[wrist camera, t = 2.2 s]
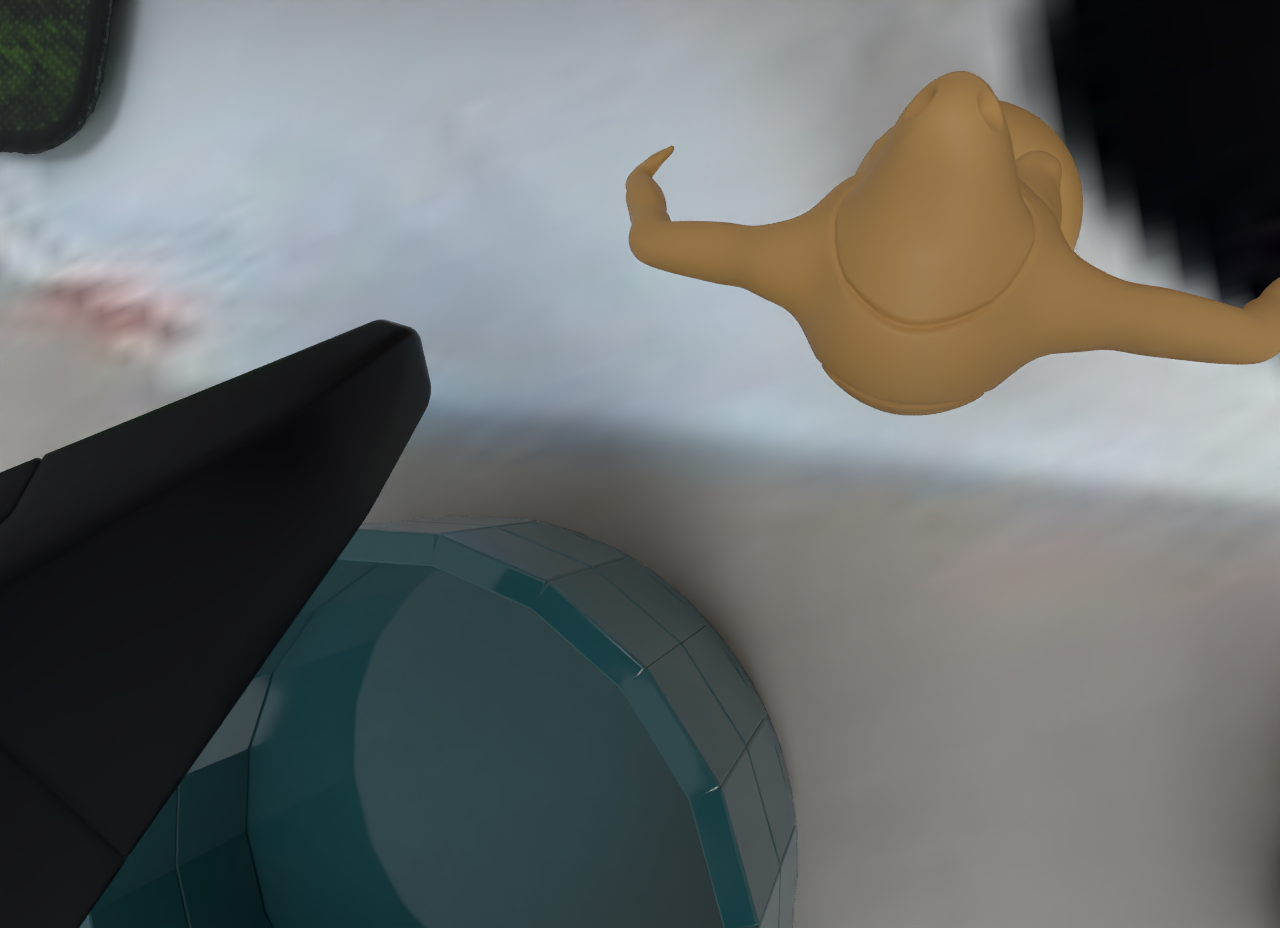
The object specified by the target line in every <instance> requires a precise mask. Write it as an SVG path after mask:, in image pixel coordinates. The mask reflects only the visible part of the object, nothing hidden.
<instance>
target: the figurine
mask: <svg viewBox="0 0 1280 928" xmlns="http://www.w3.org/2000/svg"><path fill="white" fill-rule="evenodd" d="M673 150H674V146H670V147H668V148H666V149H663V150H661V151H659V152H657V153H655V154H654V155H652V156H650V157H649V158H648V159H646V160H645V161H644V162H643V163H641V164H640V165H639V166H637V167H636V168H635V169H634V170H633V171H632V173H631V174H630V175H629V177H628V178H627V181H626V190H627V192H626V203H627V207H628V211H629V215H630V220H631V223H632V225H631V229H630V233H629V245H630V248H631V251H632V253H633V254H634V256H635V257H636V258H637V259H638V260H640V261H641V262H643V263H645V264H647V265H649V266H651V267H654V268H657V269H660V270H664V271H667V272H671V273H675V274H679V275H683V276H687V277H691V278H696V279H700V280H704V281H709V282H713V283H718V284H723V285H730V286H736V287H741V288H744V289H747V290H749V291H751V292H753V293H755V294H756V295H758V296H760V297H762V298H764V299H766V300H769V301H771V302H773V303H775V304H777V305H779V306H781V307H783V308H784V309H786V310H787V311H788V312H790V313H791V314H792V315H793V316H794V317H795V319H796V320H797V321H798V323H799V324H800V326H801V328H802V330H803V332H804V334H805V336H806V338H807V340H808V342H809V344H810V346H811V349H812V351H813V353H814V355H815V356H816V358H817V359H818V360H819V361H820V362H821V363H822V367H823V369H824V370H825V372H826V373H827V374H828V376H829V377H830V378H831V379H832V380H833V381H834V382H835V383H836V384H837V385H838V386H839V387H840V388H842V389H843V390H844V391H845V392H847V393H848V394H849V395H851V396H852V397H854V398H855V399H857V400H859V401H860V402H862V403H864V404H866V405H868V406H871V407H873V408H875V409H878V410H881V411H884V412H888V413H892V414H898V415H929V414H936V413H941V412H945V411H949V410H952V409H955V408H958V407H961V406H963V405H966V404H968V403H970V402H972V401H974V400H976V399H978V398H980V397H981V396H982V395H983V394H984V392H987V391H989V390H992V389H993V388H995V387H996V386H998V385H999V384H1000V383H1001V382H1003V381H1004V380H1005V379H1007V378H1008V377H1009V376H1010V375H1012V374H1013V373H1014V372H1015V371H1017V370H1018V369H1019V368H1021V367H1022V366H1024V365H1025V364H1027V363H1028V362H1030V361H1032V360H1034V359H1036V358H1039V357H1042V356H1045V355H1049V354H1055V353H1068V352H1082V351H1092V350H1115V351H1121V352H1127V353H1132V354H1138V355H1145V356H1153V357H1161V358H1169V359H1178V360H1187V361H1196V362H1205V363H1218V364H1255V363H1260V362H1264V361H1266V360H1269V359H1271V358H1272V357H1274V356H1276V355H1277V354H1278V353H1279V352H1280V278H1278V279H1277V280H1275V281H1274V282H1273V283H1271V284H1270V285H1269V286H1268V287H1267V288H1266V289H1265V290H1264V291H1263V293H1262V294H1261V296H1260V297H1259V298H1257V299H1254V300H1252V301H1250V302H1249V303H1247V304H1246V305H1245V306H1244V307H1243V308H1242V309H1241V308H1237V307H1234V306H1231V305H1228V304H1224V303H1221V302H1218V301H1215V300H1211V299H1208V298H1204V297H1200V296H1196V295H1192V294H1188V293H1185V292H1181V291H1176V290H1172V289H1168V288H1162V287H1156V286H1149V285H1143V284H1137V283H1132V282H1128V281H1124V280H1121V279H1119V278H1116V277H1114V276H1112V275H1109V274H1107V273H1105V272H1103V271H1101V270H1099V269H1097V268H1096V267H1094V266H1092V265H1090V264H1089V263H1087V262H1086V261H1084V260H1083V259H1082V258H1080V257H1079V256H1078V255H1077V254H1076V253H1075V252H1074V251H1073V250H1074V248H1075V245H1076V242H1077V239H1078V236H1079V232H1080V228H1081V222H1082V213H1083V196H1082V187H1081V182H1080V178H1079V174H1078V171H1077V168H1076V165H1075V163H1074V160H1073V158H1072V156H1071V154H1070V152H1069V151H1068V149H1067V147H1066V146H1065V144H1064V143H1063V141H1062V140H1061V139H1060V137H1059V136H1058V135H1057V134H1056V133H1055V132H1054V131H1053V130H1052V129H1051V128H1050V127H1049V126H1048V125H1047V124H1046V123H1045V122H1043V121H1042V120H1041V119H1040V118H1038V117H1037V116H1035V115H1034V114H1032V113H1030V112H1029V111H1027V110H1025V109H1023V108H1020V107H1018V106H1016V105H1013V104H1010V103H1007V102H1004V101H999V100H998V99H997V97H996V95H995V94H994V92H993V91H992V89H991V88H990V86H989V85H988V84H987V83H986V82H985V81H984V80H983V79H981V78H980V77H978V76H976V75H975V74H972V73H969V72H966V71H957V72H951V73H948V74H945V75H943V76H941V77H939V78H937V79H935V80H934V81H932V82H931V83H930V84H928V85H927V86H926V87H925V88H923V89H922V90H921V91H920V92H919V93H918V94H917V95H916V96H915V97H914V98H913V100H912V101H911V102H910V103H909V104H908V106H907V107H906V108H905V110H904V111H903V113H902V114H901V116H900V117H899V119H898V120H897V122H896V124H895V125H894V126H893V127H891V128H890V129H889V130H888V131H887V132H886V133H885V134H883V135H882V136H881V137H880V138H879V139H878V140H877V141H876V142H875V143H874V144H873V146H872V148H871V149H870V150H869V152H868V153H867V154H866V156H865V157H864V159H863V160H862V162H861V164H860V166H859V167H858V169H857V171H856V173H855V175H854V176H852V177H850V178H848V179H846V180H845V181H843V182H842V183H840V184H839V185H838V186H836V187H835V188H834V189H833V190H832V191H831V192H830V193H829V194H827V195H826V196H825V197H824V198H823V199H822V200H821V201H820V202H819V203H818V204H817V205H816V206H814V207H813V208H812V209H811V210H809V211H808V212H806V213H804V214H802V215H800V216H798V217H795V218H792V219H789V220H786V221H782V222H778V223H773V224H768V225H760V226H748V225H740V224H733V223H726V222H706V221H678V222H671V219H670V217H669V215H668V213H667V212H666V210H667V208H666V201H665V197H664V194H663V192H662V190H661V188H660V187H659V186H658V184H657V183H656V182H655V181H654V180H653V179H652V177H653V175H654V174H655V172H656V171H657V170H658V168H659V167H660V166H661V165H662V163H663V162H664V161H665V160H666V159H667V158H668V157H669V156H670V155H671V154H672V152H673Z"/></svg>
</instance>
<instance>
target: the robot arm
mask: <svg viewBox="0 0 1280 928" xmlns="http://www.w3.org/2000/svg"><path fill="white" fill-rule="evenodd" d="M430 395H431V383H430V378H429V374H428V369H427V365H426V360H425V356H424V351H423V347H422V343H421V339H420V336H419V335H418V333H417V332H416V331H415V330H414V329H412V328H411V327H408V326H404V325H401V324H398V323H395V322H392V321H388V320H376V321H373V322H370V323H367V324H365V325H363V326H360V327H358V328H355V329H353V330H350V331H348V332H345V333H343V334H340V335H338V336H335V337H333V338H331V339H328V340H326V341H323V342H321V343H318V344H316V345H313V346H311V347H308V348H306V349H304V350H301V351H299V352H296V353H294V354H291V355H289V356H286V357H284V358H281V359H279V360H277V361H274V362H272V363H269V364H267V365H264V366H262V367H259V368H257V369H254V370H252V371H249V372H247V373H245V374H242V375H240V376H237V377H235V378H232V379H230V380H227V381H225V382H222V383H220V384H218V385H215V386H213V387H210V388H208V389H205V390H203V391H200V392H198V393H195V394H193V395H190V396H188V397H186V398H183V399H181V400H178V401H176V402H173V403H171V404H168V405H166V406H163V407H161V408H158V409H156V410H154V411H151V412H149V413H146V414H144V415H141V416H139V417H136V418H134V419H131V420H129V421H126V422H124V423H122V424H119V425H117V426H114V427H112V428H109V429H107V430H104V431H102V432H99V433H97V434H94V435H92V436H90V437H87V438H85V439H82V440H80V441H77V442H75V443H72V444H70V445H67V446H65V447H62V448H60V449H57V450H55V451H53V452H50V453H48V454H46V455H45V456H44V457H43V459H40V458H35V459H32V460H30V461H28V462H25V463H23V464H20V465H18V466H15V467H13V468H11V469H8V470H6V471H3V472H1V473H0V928H79V927H80V926H81V925H82V923H83V922H84V920H85V919H86V918H87V916H88V915H89V913H90V912H91V910H92V909H93V908H94V906H95V905H96V903H97V902H98V900H99V899H100V898H101V896H102V895H103V893H104V892H105V890H106V889H107V888H108V886H109V885H110V883H111V882H112V881H113V879H114V878H115V876H116V875H117V873H118V872H119V871H120V869H121V868H122V866H123V865H124V863H125V862H126V858H125V857H128V856H129V855H130V854H131V853H132V851H133V850H134V848H135V847H136V845H137V844H138V843H139V841H140V840H141V838H142V837H143V835H144V834H145V833H146V831H147V830H148V828H149V827H150V825H151V824H152V823H153V821H154V820H155V818H156V817H157V816H158V814H159V813H160V811H161V810H162V808H163V807H164V806H165V804H166V803H167V801H168V800H169V798H170V797H171V796H172V794H173V793H174V791H175V790H176V788H177V787H178V786H179V784H180V783H181V781H182V780H183V778H184V777H185V776H186V774H187V773H188V771H189V770H190V768H191V767H192V766H193V764H194V763H195V761H196V760H197V759H198V757H199V756H200V754H201V753H202V751H203V750H204V749H205V747H206V746H207V744H208V743H209V741H210V740H211V739H212V737H213V736H214V734H215V733H216V731H217V730H218V729H219V727H220V726H221V724H222V723H223V721H224V720H225V719H226V717H227V716H228V714H229V713H230V711H231V710H232V709H233V707H234V706H235V704H236V703H237V702H238V700H239V699H240V697H241V696H242V694H243V693H244V692H245V690H246V689H247V687H248V686H249V684H250V683H251V682H252V680H253V679H254V677H255V676H256V674H257V673H258V672H259V670H260V669H261V667H262V666H263V664H264V663H265V662H266V660H267V659H268V657H269V656H270V654H271V653H272V652H273V650H274V649H275V647H276V646H277V645H278V643H279V642H280V640H281V639H282V637H283V636H284V635H285V633H286V632H287V630H288V629H289V627H290V626H291V625H292V623H293V622H294V620H295V619H296V617H297V616H298V615H299V613H300V612H301V610H302V609H303V607H304V606H305V605H306V603H307V602H308V600H309V599H310V597H311V596H312V595H313V593H314V592H315V590H316V589H317V588H318V586H319V585H320V583H321V582H322V580H323V579H324V578H325V576H326V575H327V573H328V572H329V570H330V569H331V568H332V566H333V565H334V563H335V562H336V560H337V559H338V558H339V556H340V555H341V553H342V552H343V550H344V549H345V548H346V546H347V545H348V543H349V542H350V540H351V539H352V538H353V536H354V535H355V533H356V532H357V530H358V529H359V527H360V526H361V524H362V523H363V521H364V520H365V518H366V516H367V515H368V513H369V511H370V510H371V508H372V506H373V505H374V503H375V501H376V499H377V498H378V496H379V494H380V492H381V490H382V489H383V487H384V485H385V483H386V481H387V479H388V478H389V476H390V474H391V472H392V470H393V468H394V467H395V465H396V463H397V461H398V459H399V458H400V456H401V454H402V452H403V450H404V448H405V447H406V445H407V443H408V441H409V439H410V437H411V436H412V434H413V432H414V430H415V428H416V427H417V425H418V423H419V421H420V419H421V417H422V416H423V414H424V412H425V410H426V408H427V406H428V403H429V400H430Z"/></svg>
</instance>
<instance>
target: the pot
mask: <svg viewBox="0 0 1280 928" xmlns="http://www.w3.org/2000/svg"><path fill="white" fill-rule="evenodd" d="M125 858H126V862H125V863H124V865H123V866H122V868H121V869H120V871H119V872H118V873H117V875H116V876H115V878H114V879H113V881H112V882H111V883H110V885H109V886H108V888H107V889H106V890H105V892H104V893H103V895H102V896H101V898H100V899H99V900H98V902H97V903H96V905H95V906H94V908H93V909H92V910H91V912H90V913H89V915H88V916H87V918H86V919H85V920H84V922H83V923H82V925H81V926H80V927H79V928H793V915H794V900H795V893H796V885H797V877H798V864H797V826H796V819H795V812H794V805H793V797H792V790H791V785H790V782H789V778H788V774H787V770H786V767H785V763H784V759H783V756H782V752H781V748H780V745H779V742H778V740H777V737H776V735H775V732H774V730H773V727H772V725H771V722H770V720H769V718H768V715H767V713H766V710H765V708H764V705H763V703H762V701H761V699H760V698H759V696H758V694H757V692H756V690H755V689H754V687H753V685H752V683H751V681H750V680H749V678H748V676H747V674H746V673H745V671H744V669H743V667H742V665H741V664H740V663H739V661H738V660H737V658H736V657H735V656H734V654H733V653H732V652H731V650H730V649H729V647H728V646H727V645H726V643H725V642H724V641H723V639H722V638H721V637H720V635H719V634H718V632H717V631H716V630H715V629H714V628H713V627H712V625H711V624H710V623H709V622H708V621H707V620H706V619H705V618H704V617H703V616H702V615H701V614H700V613H699V612H698V611H697V610H696V608H695V607H694V606H693V605H692V604H691V603H690V602H689V601H688V600H687V599H686V598H685V597H684V596H682V595H681V594H680V593H679V592H678V591H676V590H675V589H674V588H673V587H672V586H670V585H669V584H668V583H667V582H665V581H664V580H663V579H662V578H661V577H659V576H658V575H657V574H656V573H655V572H653V571H652V570H650V569H648V568H647V567H645V566H644V565H642V564H640V563H639V562H637V561H636V560H634V559H632V558H631V557H629V556H628V555H626V554H624V553H623V552H621V551H620V550H618V549H615V548H613V547H611V546H609V545H607V544H605V543H602V542H600V541H598V540H596V539H594V538H591V537H589V536H587V535H585V534H582V533H579V532H576V531H572V530H569V529H566V528H562V527H559V526H556V525H552V524H549V523H545V522H541V521H539V522H538V521H536V520H525V519H519V518H512V517H469V516H442V517H432V518H421V519H411V520H401V521H390V522H380V523H369V524H361V526H360V527H359V529H358V530H357V532H356V533H355V535H354V536H353V538H352V539H351V540H350V542H349V543H348V545H347V546H346V548H345V549H344V550H343V552H342V553H341V555H340V556H339V558H338V559H337V560H336V562H335V563H334V565H333V566H332V568H331V569H330V570H329V572H328V573H327V575H326V576H325V578H324V579H323V580H322V582H321V583H320V585H319V586H318V588H317V589H316V590H315V592H314V593H313V595H312V596H311V597H310V599H309V600H308V602H307V603H306V605H305V606H304V607H303V609H302V610H301V612H300V613H299V615H298V616H297V617H296V619H295V620H294V622H293V623H292V625H291V626H290V627H289V629H288V630H287V632H286V633H285V635H284V636H283V637H282V639H281V640H280V642H279V643H278V645H277V646H276V647H275V649H274V650H273V652H272V653H271V654H270V656H269V657H268V659H267V660H266V662H265V663H264V664H263V666H262V667H261V669H260V670H259V672H258V673H257V674H256V676H255V677H254V679H253V680H252V682H251V683H250V684H249V686H248V687H247V689H246V690H245V692H244V693H243V694H242V696H241V697H240V699H239V700H238V702H237V703H236V704H235V706H234V707H233V709H232V710H231V711H230V713H229V714H228V716H227V717H226V719H225V720H224V721H223V723H222V724H221V726H220V727H219V729H218V730H217V731H216V733H215V734H214V736H213V737H212V739H211V740H210V741H209V743H208V744H207V746H206V747H205V749H204V750H203V751H202V753H201V754H200V756H199V757H198V759H197V760H196V761H195V763H194V764H193V766H192V767H191V768H190V770H189V771H188V773H187V774H186V776H185V777H184V778H183V780H182V781H181V783H180V784H179V786H178V787H177V788H176V790H175V791H174V793H173V794H172V796H171V797H170V798H169V800H168V801H167V803H166V804H165V806H164V807H163V808H162V810H161V811H160V813H159V814H158V816H157V817H156V818H155V820H154V821H153V823H152V824H151V825H150V827H149V828H148V830H147V831H146V833H145V834H144V835H143V837H142V838H141V840H140V841H139V843H138V844H137V845H136V847H135V848H134V850H133V851H132V853H131V854H130V855H129V856H128V857H125Z"/></svg>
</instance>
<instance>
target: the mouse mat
mask: <svg viewBox="0 0 1280 928" xmlns="http://www.w3.org/2000/svg"><path fill="white" fill-rule="evenodd" d="M113 1H114V0H0V152H9V153H12V152H17V153H23V154H36V153H41V152H44V151H47V150H50V149H53V148H55V147H57V146H59V145H61V144H62V143H64V142H65V141H67V140H69V139H70V138H71V137H72V136H74V135H75V134H76V133H77V132H78V131H79V130H81V129H82V127H83V126H84V124H85V123H86V121H87V119H88V117H89V116H90V115H91V113H92V112H93V111H94V108H95V105H96V102H97V99H98V97H99V94H100V87H101V83H102V80H103V75H104V68H105V60H106V51H107V45H108V39H109V32H110V25H111V19H112V7H113Z"/></svg>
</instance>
